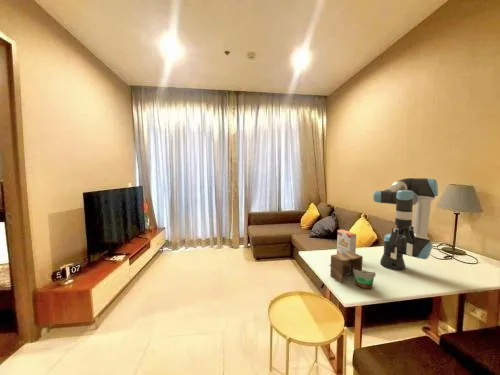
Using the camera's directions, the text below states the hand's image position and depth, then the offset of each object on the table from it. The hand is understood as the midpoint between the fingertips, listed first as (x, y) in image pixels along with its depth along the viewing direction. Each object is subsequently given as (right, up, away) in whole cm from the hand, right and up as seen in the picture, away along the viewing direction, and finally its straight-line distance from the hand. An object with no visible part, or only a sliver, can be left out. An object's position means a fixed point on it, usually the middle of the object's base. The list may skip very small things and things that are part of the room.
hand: (401, 256), depth 123 cm
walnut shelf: (-22, -20, +21) cm, 36 cm away
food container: (-17, -21, +8) cm, 28 cm away
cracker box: (-9, -17, +52) cm, 55 cm away
